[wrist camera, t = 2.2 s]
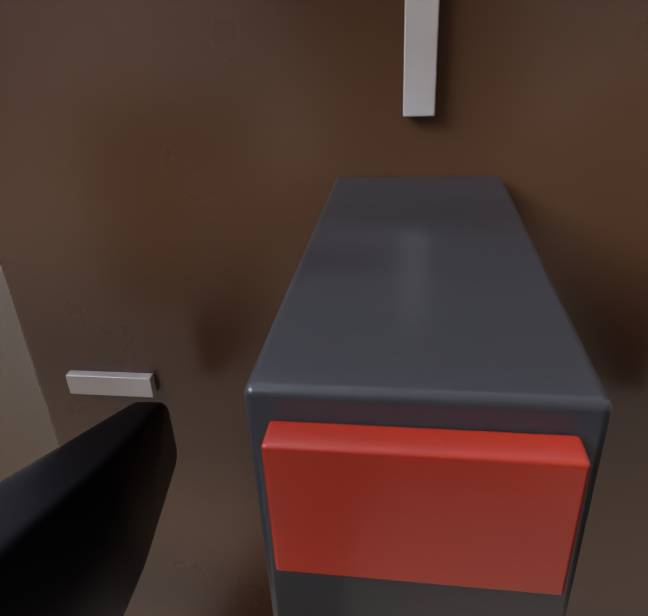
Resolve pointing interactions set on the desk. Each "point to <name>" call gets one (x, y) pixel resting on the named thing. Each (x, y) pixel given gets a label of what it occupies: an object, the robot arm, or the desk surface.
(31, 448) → the desk surface
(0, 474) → the desk surface
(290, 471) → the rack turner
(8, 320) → the desk surface
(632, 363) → the base
